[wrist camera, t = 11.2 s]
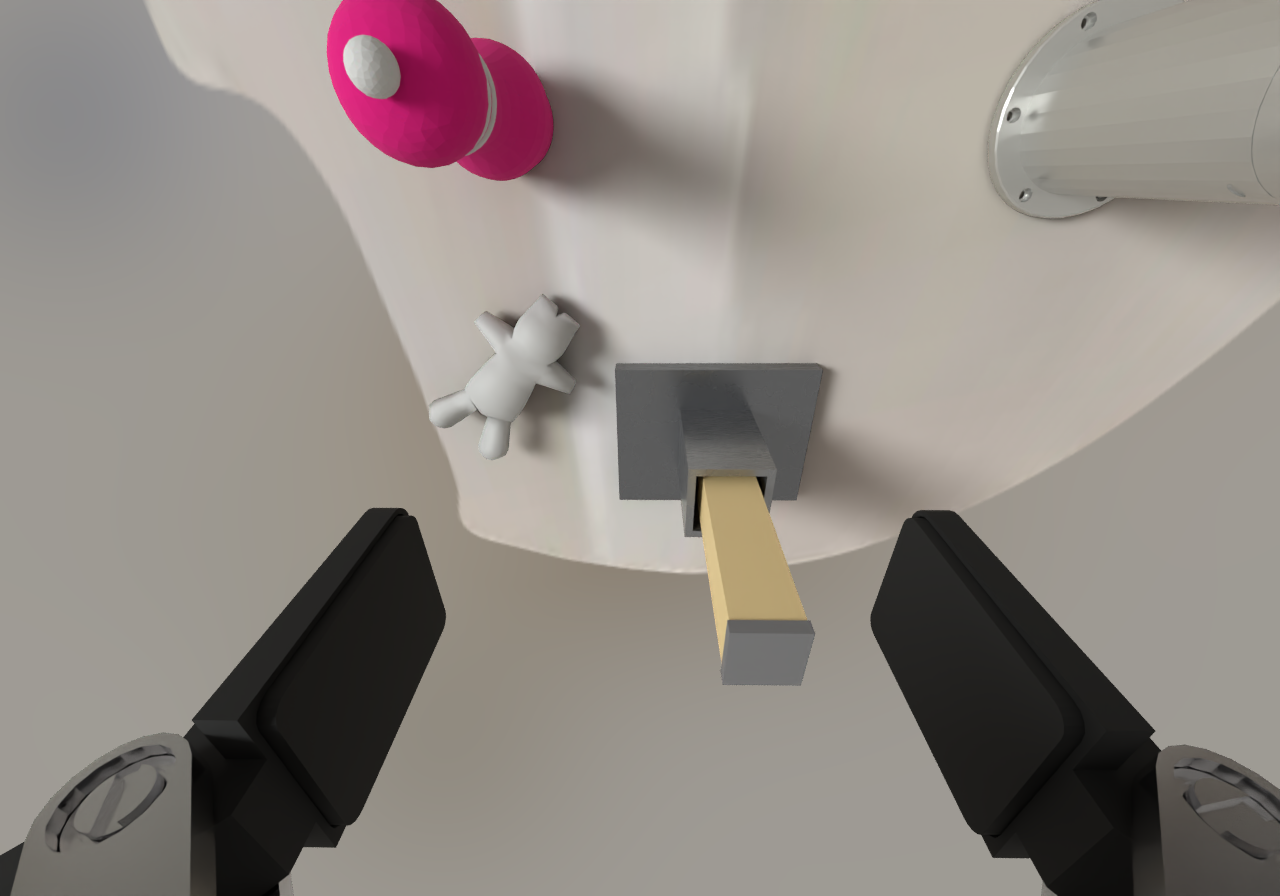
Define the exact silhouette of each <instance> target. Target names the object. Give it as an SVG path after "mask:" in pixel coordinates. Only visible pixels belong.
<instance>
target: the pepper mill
mask: <svg viewBox="0 0 1280 896" xmlns="http://www.w3.org/2000/svg"><path fill="white" fill-rule="evenodd" d="M327 58H328V67H329V73H330V76H331V80H332V83H333V87H334V89H335V92H336V94H337V96H338V99H339V101H340V103H341V105H342V107H343V109H344V110H345V112H346V114H347V116H348V118H349V119H350V120H351V122H352V123H353V124H354V126H355V127H356V128H357V130H358V131H359V132H360V133H361V134H362V135H363V136H364V137H365V138H366V139H367V140H368V141H369V142H370V143H372V144H373V145H374V146H375V147H376V148H378V149H379V150H381V151H382V152H383V153H385V154H386V155H388V156H390V157H392V158H394V159H396V160H398V161H401V162H404V163H407V164H410V165H413V166H417V167H428V168H435V167H440V166H446V165H450V164H452V163H454V162H456V161H457V162H458V163H459V164H460V165H461V166H462V167H464V168H465V169H467V170H468V171H470V172H471V173H473V174H476V175H478V176H480V177H484V178H487V179H491V180H497V181H506V180H511V179H515V178H518V177H520V176H522V175H524V174H526V173H527V172H528V171H530V170H531V169H532V168H533V167H534V166H536V165H537V164H538V163H539V162H540V161H541V160H542V159H543V158H544V156H545V155H546V153H547V151H548V149H549V147H550V144H551V141H552V136H553V115H552V110H551V106H550V104H549V101H548V98H547V96H546V93H545V90H544V88H543V85H542V83H541V81H540V79H539V77H538V76H537V74H536V73H535V71H534V70H533V68H532V67H531V66H530V64H529V63H528V62H527V61H526V60H525V59H524V58H523V57H522V56H521V55H520V54H518V53H517V52H516V51H514V50H513V49H511V48H509V47H508V46H506V45H504V44H502V43H499V42H497V41H494V40H491V39H484V38H471V39H470V37H469V35H468V34H467V32H466V31H465V29H464V27H463V26H462V25H461V24H460V23H459V21H458V20H457V19H456V18H455V17H454V16H453V15H452V14H451V13H450V12H449V11H448V10H447V9H446V8H445V7H444V6H443V5H442V4H441V3H439V2H438V1H436V0H343V1H342V2H341V4H340V5H339V7H338V9H337V10H336V12H335V14H334V16H333V18H332V21H331V25H330V28H329V32H328V39H327Z"/></svg>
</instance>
